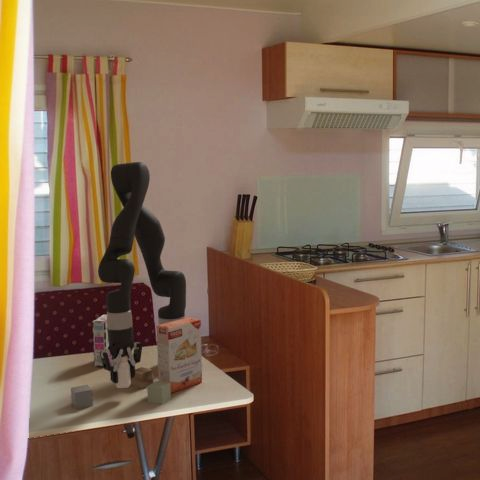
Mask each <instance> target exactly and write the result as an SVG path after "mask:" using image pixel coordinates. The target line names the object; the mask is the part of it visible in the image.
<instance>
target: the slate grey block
mask: <svg viewBox="0 0 480 480" xmlns="http://www.w3.org/2000/svg"><path fill="white" fill-rule="evenodd" d="M70 397H71V405H72V406H73V408H75V410H78V409H83V408H88V407H92V406H94V401H93V389H92V388H91V387H90V386H89V385H88V384H84V385H80V386H79V385H78V386H73V387H70Z"/></svg>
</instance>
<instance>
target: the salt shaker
mask: <svg viewBox="0 0 480 480" xmlns="http://www.w3.org/2000/svg"><path fill="white" fill-rule="evenodd" d="M116 371H117V373H118V383H115V387H116V388H118V389H124V388H129V387H131V375H130V365H129V364H128V360H127V356H124V357H121V359H120V363H119V364H118V367H117V370H116Z"/></svg>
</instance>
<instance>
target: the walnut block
mask: <svg viewBox="0 0 480 480" xmlns="http://www.w3.org/2000/svg"><path fill="white" fill-rule="evenodd" d="M153 382H154V370H153V369H151V368H147V367H142V366H141V367H139V368H135V376H134V378H131V384H130V387H131V388H132V387H133V388H137V389H141V390H144V389H147V386H149V385H150V384H152V383H153Z"/></svg>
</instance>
